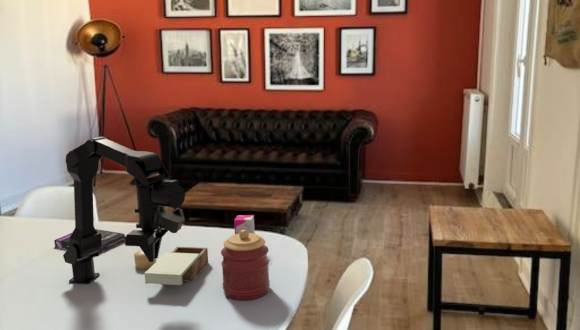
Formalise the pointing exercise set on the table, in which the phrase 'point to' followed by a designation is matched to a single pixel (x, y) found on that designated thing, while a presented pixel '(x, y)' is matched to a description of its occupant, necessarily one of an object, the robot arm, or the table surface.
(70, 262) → the robot arm
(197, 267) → the walnut box
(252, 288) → the canister
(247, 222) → the supplement box
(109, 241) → the box
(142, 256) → the dome push button
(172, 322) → the table surface
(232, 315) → the table surface
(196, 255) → the lid
